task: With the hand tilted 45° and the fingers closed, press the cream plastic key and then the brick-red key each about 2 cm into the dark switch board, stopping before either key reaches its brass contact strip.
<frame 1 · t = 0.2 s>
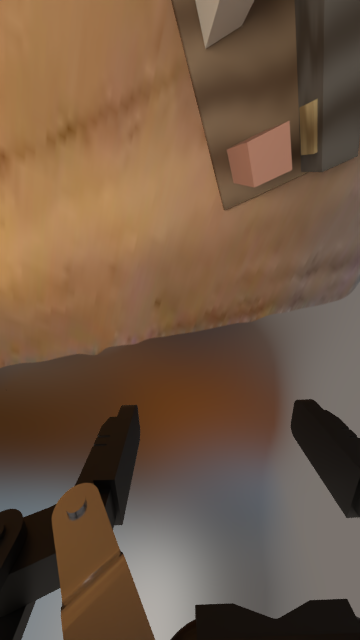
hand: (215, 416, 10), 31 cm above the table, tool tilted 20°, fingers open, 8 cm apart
brick key: (255, 158, 24), point 6 cm above the table, slide at 0.0 cm
switch board: (271, 75, 24), on the table
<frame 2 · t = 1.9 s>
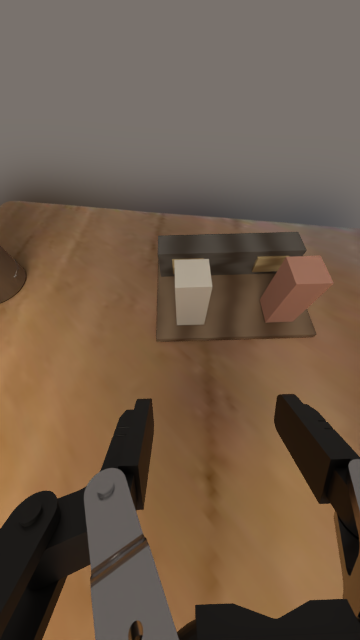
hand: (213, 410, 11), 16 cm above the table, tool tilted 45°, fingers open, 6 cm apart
cream key: (190, 295, 26), point 6 cm above the table, slide at 0.0 cm
brick key: (289, 293, 26), point 6 cm above the table, slide at 0.0 cm
switch board: (226, 289, 34), on the table
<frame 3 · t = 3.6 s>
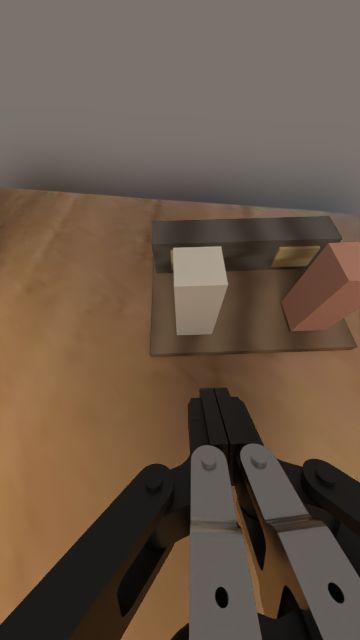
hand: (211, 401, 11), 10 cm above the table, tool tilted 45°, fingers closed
cream key: (195, 297, 20), point 6 cm above the table, slide at 0.0 cm
brick key: (326, 293, 20), point 6 cm above the table, slide at 0.0 cm
switch board: (238, 289, 27), on the table
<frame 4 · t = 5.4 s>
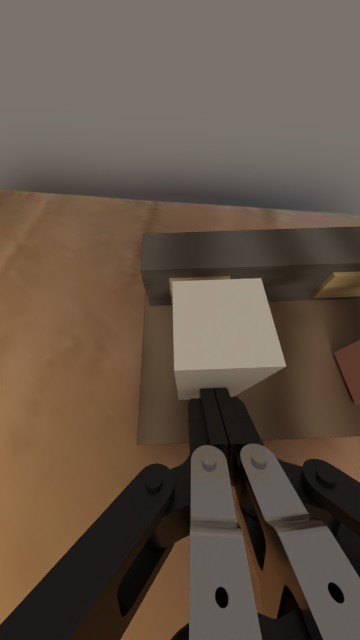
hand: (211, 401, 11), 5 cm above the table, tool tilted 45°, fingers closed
cream key: (209, 354, 12), point 6 cm above the table, slide at 0.8 cm, touching gripper
switch board: (265, 328, 19), on the table
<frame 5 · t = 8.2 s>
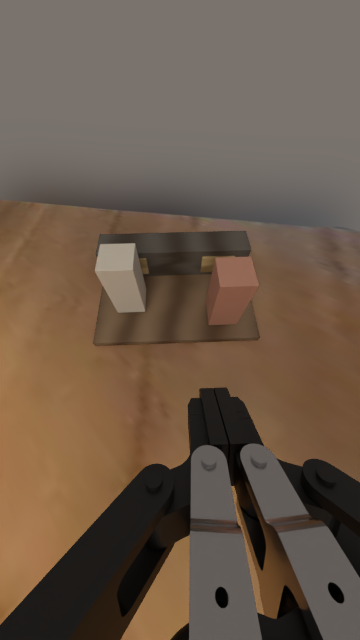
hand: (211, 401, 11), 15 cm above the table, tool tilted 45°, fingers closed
cream key: (125, 282, 26), point 6 cm above the table, slide at 2.6 cm
brick key: (227, 295, 25), point 6 cm above the table, slide at 0.0 cm
switch board: (175, 290, 33), on the table
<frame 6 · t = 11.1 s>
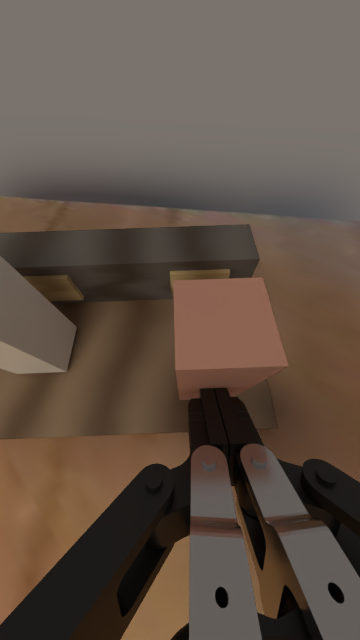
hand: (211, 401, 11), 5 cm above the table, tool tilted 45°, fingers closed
cream key: (7, 325, 13), point 6 cm above the table, slide at 2.6 cm
brick key: (210, 354, 12), point 6 cm above the table, slide at 0.1 cm, touching gripper
switch board: (130, 327, 19), on the table
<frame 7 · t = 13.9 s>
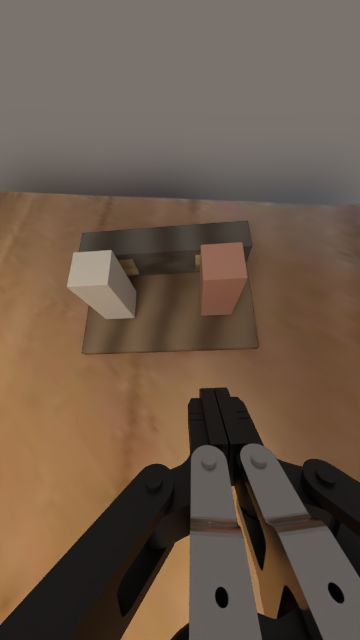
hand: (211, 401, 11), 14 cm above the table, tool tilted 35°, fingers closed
cream key: (108, 289, 24), point 6 cm above the table, slide at 2.6 cm
brick key: (218, 284, 23), point 6 cm above the table, slide at 2.4 cm
switch board: (168, 291, 30), on the table
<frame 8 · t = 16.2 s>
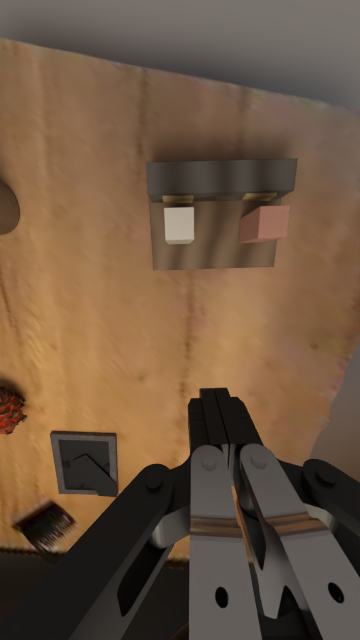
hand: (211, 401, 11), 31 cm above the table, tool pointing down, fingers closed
picture frame: (88, 460, 55), on the table
cream key: (179, 228, 32), point 6 cm above the table, slide at 2.6 cm
brick key: (260, 227, 32), point 6 cm above the table, slide at 2.4 cm
switch board: (213, 217, 37), on the table
dragon fruit: (15, 400, 48), on the table
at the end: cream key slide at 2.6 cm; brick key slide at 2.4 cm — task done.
